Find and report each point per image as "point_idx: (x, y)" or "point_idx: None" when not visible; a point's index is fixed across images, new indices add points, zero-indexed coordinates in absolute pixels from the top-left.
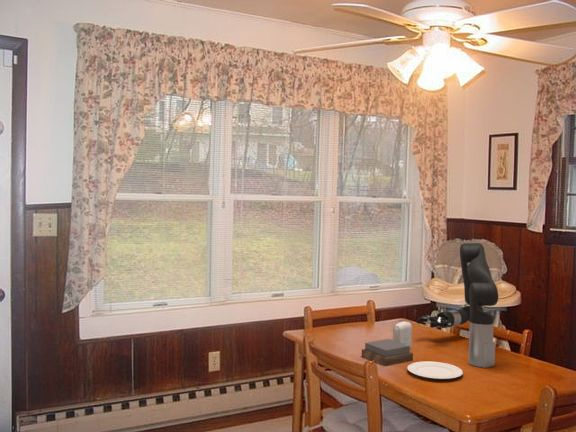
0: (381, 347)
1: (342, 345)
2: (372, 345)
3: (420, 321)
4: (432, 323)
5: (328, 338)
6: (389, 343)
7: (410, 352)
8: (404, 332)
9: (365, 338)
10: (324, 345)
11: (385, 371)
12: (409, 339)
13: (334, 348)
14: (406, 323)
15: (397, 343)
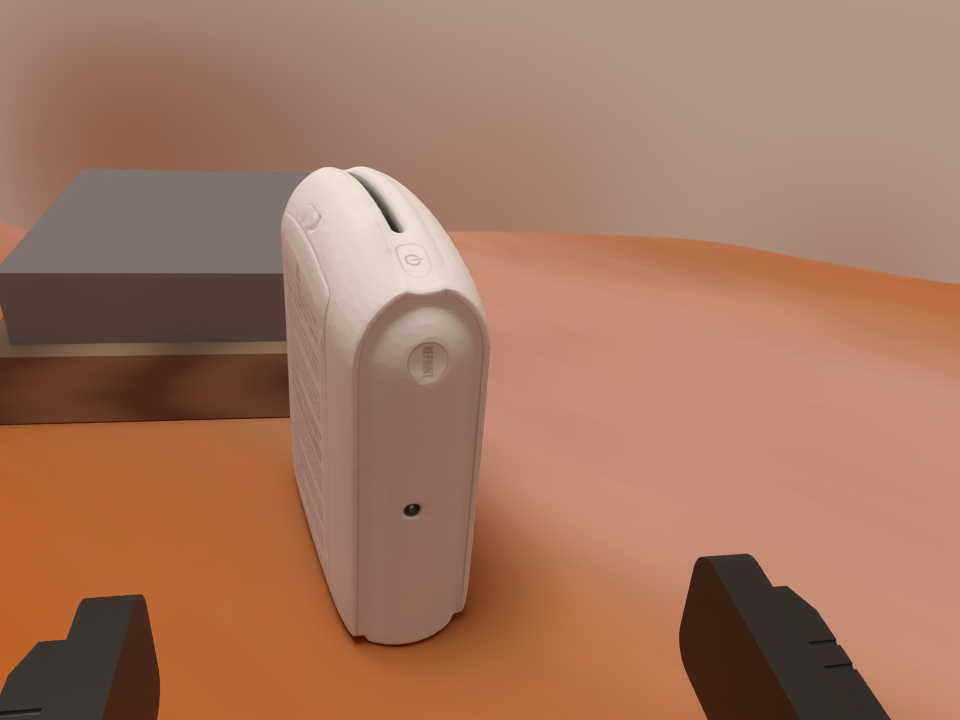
0: (163, 177)
1: (682, 296)
2: (253, 172)
3: (731, 702)
4: (77, 637)
5: (904, 307)
6: (208, 228)
7: (15, 357)
8: (290, 303)
9: (932, 472)
10: (702, 249)
11: (11, 240)
12: (324, 486)
13: (615, 255)
14: (330, 220)
15: (155, 254)
